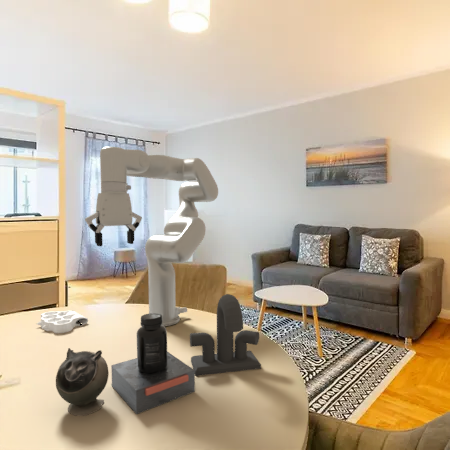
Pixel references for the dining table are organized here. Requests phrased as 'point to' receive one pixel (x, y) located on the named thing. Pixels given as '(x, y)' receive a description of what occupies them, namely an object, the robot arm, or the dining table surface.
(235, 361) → the faucet
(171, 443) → the dining table surface
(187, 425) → the dining table surface
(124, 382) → the stand
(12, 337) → the dining table surface
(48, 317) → the white flat holed piece
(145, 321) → the supplement bottle
